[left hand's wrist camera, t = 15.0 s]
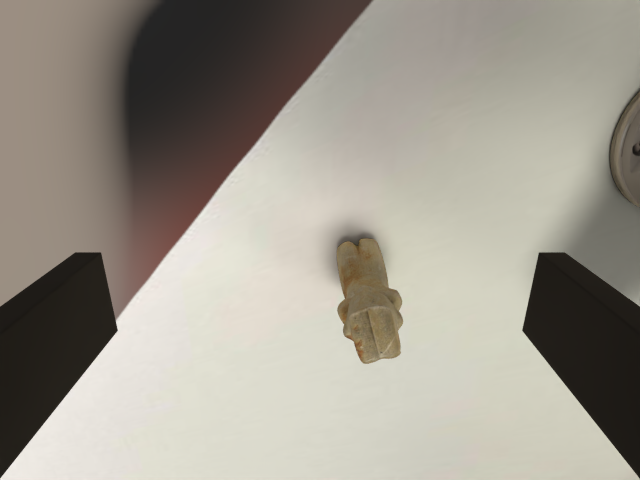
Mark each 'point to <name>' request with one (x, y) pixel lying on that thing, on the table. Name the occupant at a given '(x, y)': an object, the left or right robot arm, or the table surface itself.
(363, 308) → the sculpture
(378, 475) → the table surface
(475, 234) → the table surface
